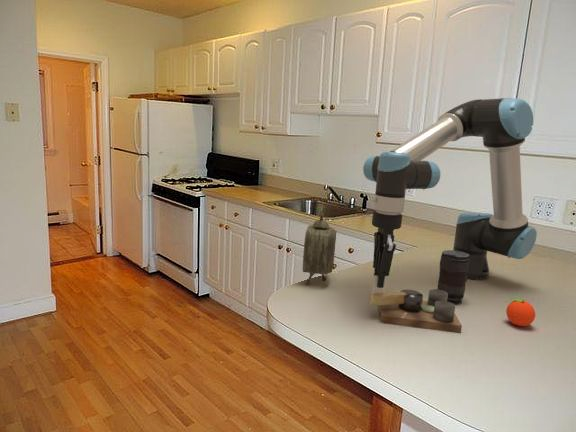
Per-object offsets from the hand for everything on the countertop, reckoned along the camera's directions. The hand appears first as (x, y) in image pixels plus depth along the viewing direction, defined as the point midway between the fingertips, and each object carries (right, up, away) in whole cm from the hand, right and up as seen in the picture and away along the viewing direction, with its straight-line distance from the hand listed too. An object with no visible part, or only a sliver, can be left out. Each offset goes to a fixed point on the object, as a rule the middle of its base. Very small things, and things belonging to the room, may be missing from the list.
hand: (377, 297), depth 114 cm
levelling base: (+11, -6, +2) cm, 12 cm away
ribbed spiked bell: (-15, 0, +25) cm, 29 cm away
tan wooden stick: (+5, -3, 0) cm, 6 cm away
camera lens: (+25, -4, +16) cm, 30 cm away
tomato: (+38, -8, +1) cm, 39 cm away
